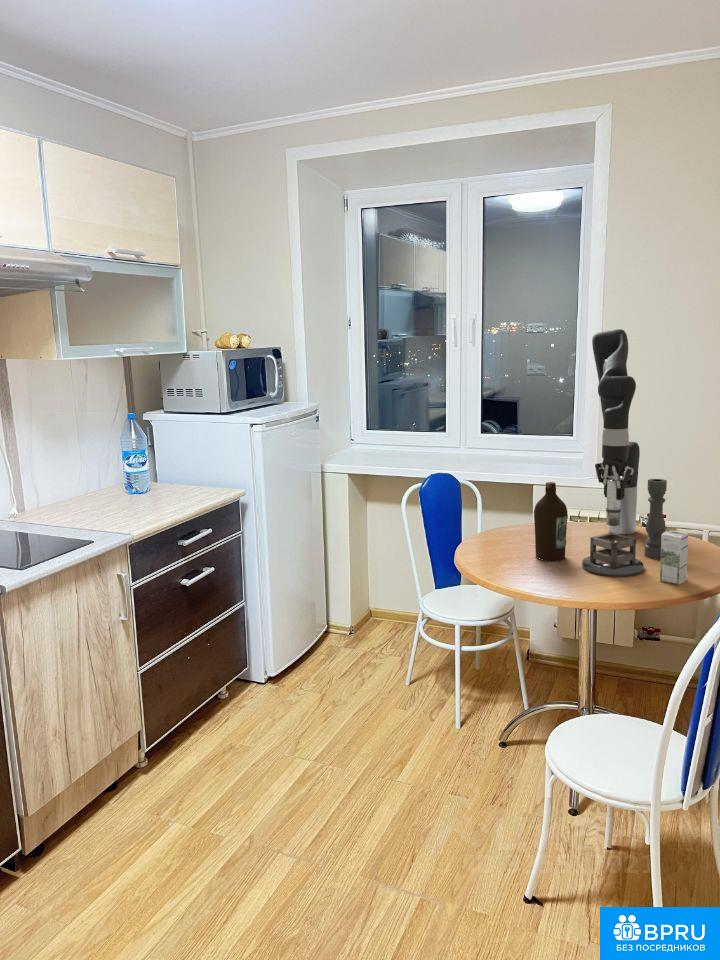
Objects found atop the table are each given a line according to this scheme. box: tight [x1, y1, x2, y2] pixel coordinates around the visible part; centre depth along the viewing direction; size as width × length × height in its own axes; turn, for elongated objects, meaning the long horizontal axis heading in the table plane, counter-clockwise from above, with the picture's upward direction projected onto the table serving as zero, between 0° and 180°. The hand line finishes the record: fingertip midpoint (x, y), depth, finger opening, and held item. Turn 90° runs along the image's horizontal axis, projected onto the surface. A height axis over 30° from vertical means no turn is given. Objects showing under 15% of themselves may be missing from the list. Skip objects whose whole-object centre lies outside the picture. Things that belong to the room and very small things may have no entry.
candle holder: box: [644, 478, 668, 560], centre depth 230 cm, size 6×6×25 cm
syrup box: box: [659, 529, 689, 586], centre depth 208 cm, size 6×6×14 cm
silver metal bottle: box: [605, 478, 621, 527], centre depth 219 cm, size 4×4×14 cm
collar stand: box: [581, 532, 644, 578], centre depth 222 cm, size 18×18×10 cm
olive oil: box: [533, 481, 568, 562], centre depth 234 cm, size 11×11×25 cm
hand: (613, 498), depth 219 cm, fingers closed on silver metal bottle, 4 cm apart
